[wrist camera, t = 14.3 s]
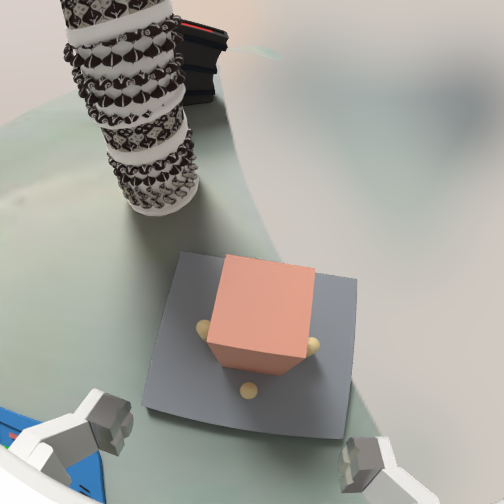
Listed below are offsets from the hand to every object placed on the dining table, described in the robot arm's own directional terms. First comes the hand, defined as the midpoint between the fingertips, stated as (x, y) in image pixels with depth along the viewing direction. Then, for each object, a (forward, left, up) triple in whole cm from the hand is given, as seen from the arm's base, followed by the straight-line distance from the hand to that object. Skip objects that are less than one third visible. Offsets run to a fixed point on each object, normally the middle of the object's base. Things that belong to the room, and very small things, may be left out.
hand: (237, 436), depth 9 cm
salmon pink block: (0, +6, -12) cm, 14 cm away
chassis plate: (0, +6, -14) cm, 15 cm away
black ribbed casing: (-16, +38, -14) cm, 43 cm away
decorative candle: (-13, +21, -14) cm, 28 cm away
